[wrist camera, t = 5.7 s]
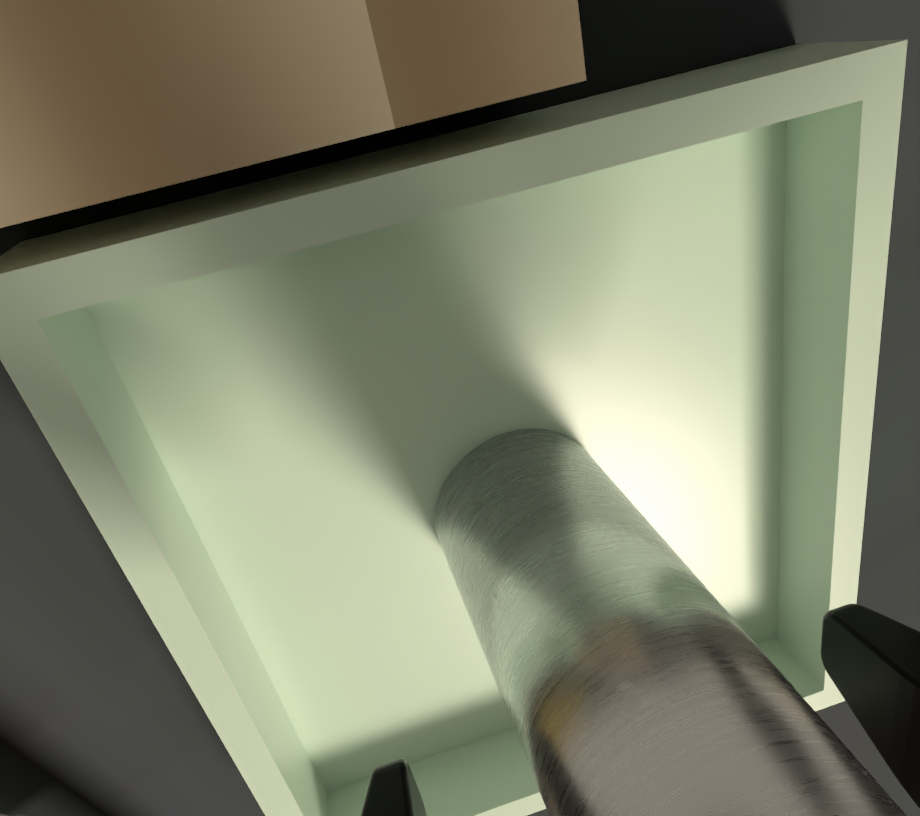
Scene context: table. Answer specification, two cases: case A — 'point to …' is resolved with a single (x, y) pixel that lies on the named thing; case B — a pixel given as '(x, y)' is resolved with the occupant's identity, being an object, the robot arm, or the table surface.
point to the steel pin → (626, 652)
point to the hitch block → (245, 83)
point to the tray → (474, 395)
